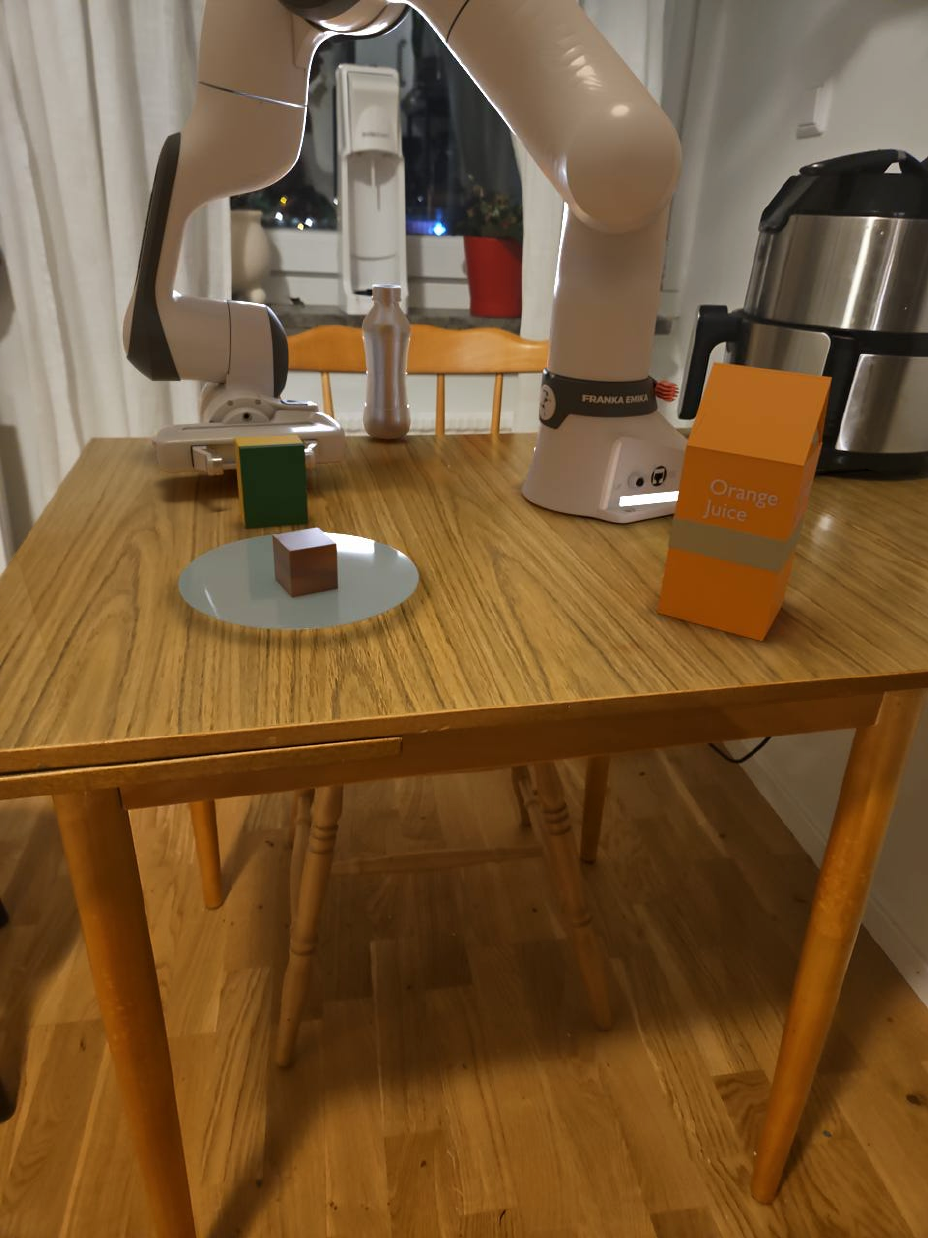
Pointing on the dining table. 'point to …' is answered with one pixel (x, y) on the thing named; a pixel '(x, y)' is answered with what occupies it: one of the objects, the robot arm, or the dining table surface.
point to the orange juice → (743, 497)
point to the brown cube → (305, 561)
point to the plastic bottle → (386, 365)
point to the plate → (251, 596)
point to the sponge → (271, 480)
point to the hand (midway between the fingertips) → (262, 464)
